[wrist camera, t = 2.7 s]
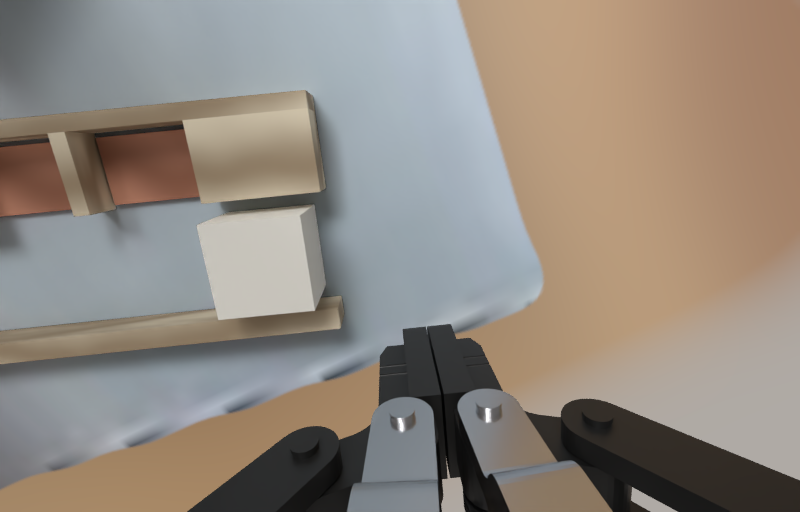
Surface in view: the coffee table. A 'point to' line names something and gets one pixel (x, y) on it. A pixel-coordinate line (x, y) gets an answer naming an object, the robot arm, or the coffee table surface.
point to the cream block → (263, 261)
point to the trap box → (161, 198)
